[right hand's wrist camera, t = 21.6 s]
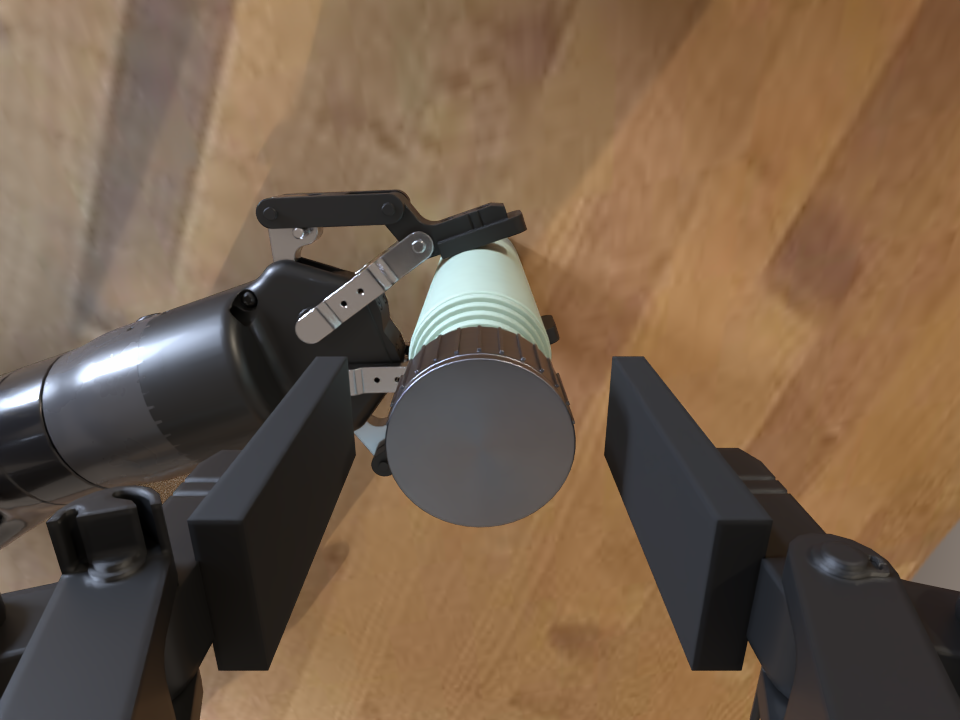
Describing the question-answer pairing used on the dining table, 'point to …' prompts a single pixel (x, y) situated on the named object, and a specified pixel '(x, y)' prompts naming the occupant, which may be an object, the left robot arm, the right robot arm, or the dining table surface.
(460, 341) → the cap
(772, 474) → the right robot arm
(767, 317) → the dining table surface
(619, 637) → the dining table surface
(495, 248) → the bottle
